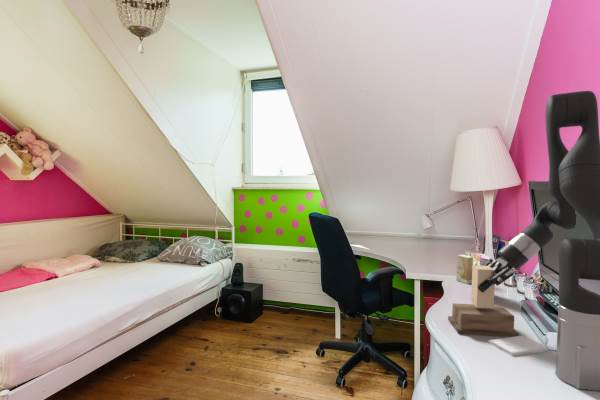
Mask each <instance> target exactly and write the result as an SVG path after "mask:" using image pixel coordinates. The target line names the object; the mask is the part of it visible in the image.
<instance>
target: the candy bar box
mask: <svg viewBox="0 0 600 400" xmlns="http://www.w3.org/2000/svg"><path fill="white" fill-rule="evenodd" d="M472 257H473V266H483V265H484V264H485V263H486V262H487V261H488V260H489V259H492V258H491V257H490V256H488V255H487V254H486V253H473V254H472Z"/></svg>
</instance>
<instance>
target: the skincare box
mask: <svg viewBox="0 0 600 400" xmlns="http://www.w3.org/2000/svg"><path fill="white" fill-rule="evenodd" d="M456 259H457V261H456V263H457V264H456V275H455V276H456V278H455V279H456V281H458V282H461V283H464V284H466V285H468V284H472V283H471V282H472V266H473V255H469V254H468V255H467V254H457V258H456Z"/></svg>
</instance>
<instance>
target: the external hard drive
mask: <svg viewBox="0 0 600 400" xmlns="http://www.w3.org/2000/svg"><path fill="white" fill-rule="evenodd" d="M488 344H490V345H492V346H494V347H495V348H497V349H499V350H501V351H502V352H504V353H506V354H507V355H509V356H511V357H515V356H520V355H521V356H522V355H528V354H534V353H535V354H537V353H542V352H549V347H548V346H547V345H544V344H542V343H541V342H539V341H537V340H536V339H535V340H534V339H533V338H530V337H528V336H527V335H524V334H523V335H519V336H516V337H503V338H502V337H500V338H495V339H489V340H488Z"/></svg>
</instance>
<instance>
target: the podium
mask: <svg viewBox="0 0 600 400" xmlns="http://www.w3.org/2000/svg"><path fill="white" fill-rule="evenodd" d="M451 308H452V310H451V311H452V313H451V314H452V315H450V316H449V315H448V316H447V317H448V318H447V320H448V322H449V323H450V325H452V327H453V328H454V330H455V331H456V333H457V334H458V335H472V336H473V335H474V336H487V337H501V338H502V337H503V338H508V337H516V336H520V334H519V332H518V331H517V330H516V329H515V316H514V315H513V314H512V313H511V312H509V311H508V310H507V309H506V308H505V307H503V306H502V305H495V304H494V308H477V307H476V306H475V305H474V304H473V303H453V302H452V307H451Z"/></svg>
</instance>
